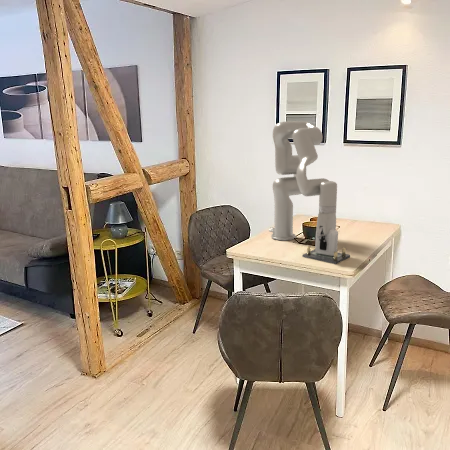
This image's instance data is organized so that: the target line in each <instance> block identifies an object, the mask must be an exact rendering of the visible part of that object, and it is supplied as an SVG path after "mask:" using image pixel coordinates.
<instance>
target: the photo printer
mask: <svg viewBox="0 0 450 450" xmlns="http://www.w3.org/2000/svg"><path fill="white" fill-rule="evenodd" d="M322 234H324V233H322ZM317 235H318V234H317V233H316V232H315V246H314V248H315V253H319V254H325V255H330V256H334V252H338V243H339V241H338V240H339V231H338V230H337V229H336V230H334V229H331V230H330V232H329V234H328V235H327V237H326V242H327V248H326V250H321V249H320V241H319V238H318V237H317ZM322 237H323V238H324V236H322Z"/></svg>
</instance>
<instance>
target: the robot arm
mask: <svg viewBox="0 0 450 450" xmlns="http://www.w3.org/2000/svg"><path fill="white" fill-rule="evenodd" d="M272 140H273V145H274V153H275V155H274V157H275V160H274V161H275V162H274V164H275V166H274V167H275V172H276V173H277V174H278V175H280V176H284V177H280V178H277V179H275V180H274V181H273V183H272V192H273V200H274V202H273V203H274V225H273V226H274V227H270V228H269V229H268V232H270V233H272V234H271V239H273V240H275V241H291V240H294V238H295V239H296V234H295V233H293V231H294V229H293V228H294V227H293V224H294V204H293V201H292V199H291V198H290V197H291V196H298V195H299V196H300V195H303V196H304V197H315V196H319V199H318V213H317V217H316V231H315V234H316V233H317V234H318V235H317V237H318V238H319V241H320V249H321V250H326V248H327V242H326V237H327V235H328V234H329V232H330V230H331V229H334V230H336V231H337V200H338V199H337V198H338V197H337V196H338V195H337V194H338V183H337V182H336V181H332V180H328V179H327V178H312V179H308V177H307V167H308V166H309V165H311V164H313V163H314V162H316V161H317V160H318V152H317V149H316V147H315V146H318V145H320V144H322V142H323V133H322V131H321V128H319V127H317V126H316V125H314V124H313V123H310V122H308V121H306V120H295V121H293V120H291V121H290V120H289V121H281V122H278V123H276V124H275V125H274V127H273V129H272ZM289 140H292V141H293V144H294V148H295V150H296V153H297V154H295V155H293V147H292V144H291V142H290V141H289ZM285 175H287V177H285ZM289 175H293V176H289ZM322 233H324V234H322ZM322 236H324V238H323V237H322Z"/></svg>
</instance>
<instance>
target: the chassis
mask: <svg viewBox="0 0 450 450" xmlns="http://www.w3.org/2000/svg"><path fill="white" fill-rule="evenodd" d="M311 248H312V247H311V246H309V245H308V246H306V253H303V254H302V258H306V259H310V260H315V261H320V262H324V263H329V264H334V265H337V264H339V263H341V262H343V261H345V260H347V259H349V258H350V257H351V254H348V253H347V247H342V249H341V251H342V252H338V251H337V252H334V256H330V255H325V254H319V253H315V249H313V250H312V249H311Z"/></svg>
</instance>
